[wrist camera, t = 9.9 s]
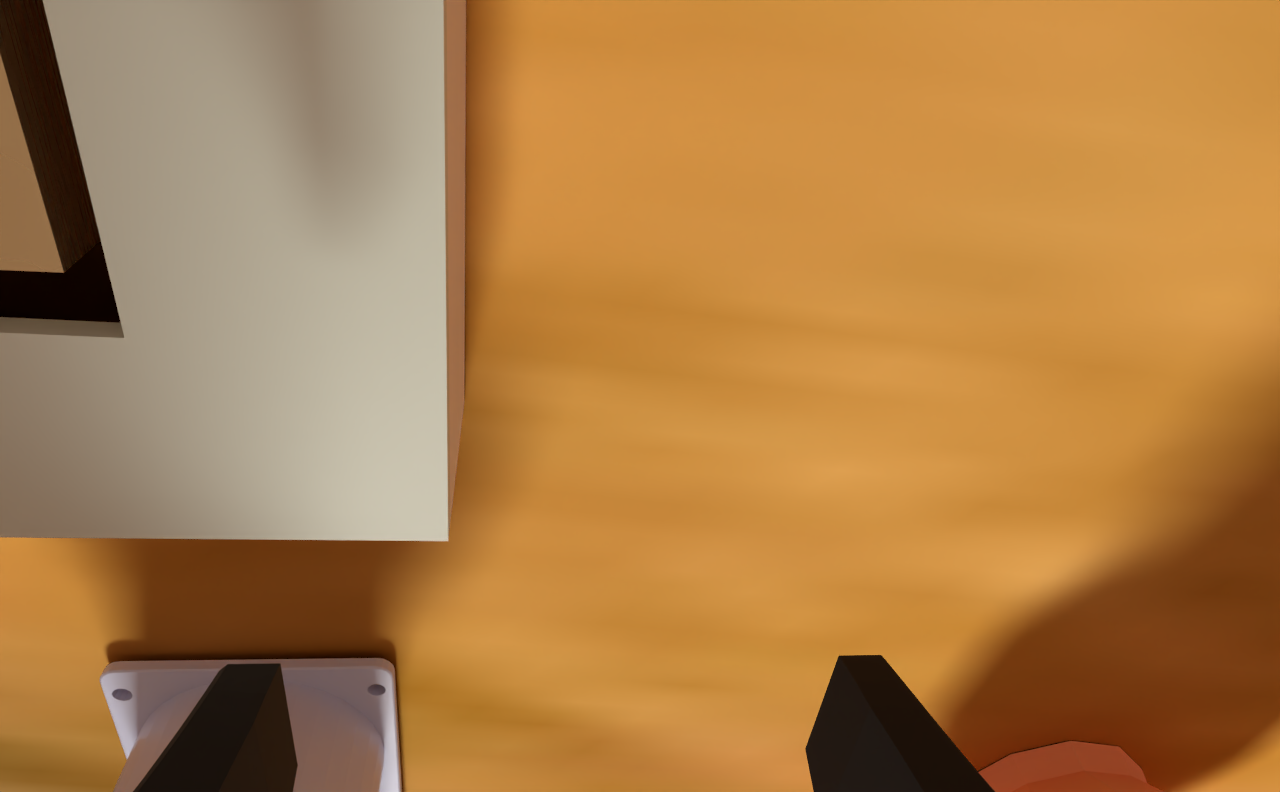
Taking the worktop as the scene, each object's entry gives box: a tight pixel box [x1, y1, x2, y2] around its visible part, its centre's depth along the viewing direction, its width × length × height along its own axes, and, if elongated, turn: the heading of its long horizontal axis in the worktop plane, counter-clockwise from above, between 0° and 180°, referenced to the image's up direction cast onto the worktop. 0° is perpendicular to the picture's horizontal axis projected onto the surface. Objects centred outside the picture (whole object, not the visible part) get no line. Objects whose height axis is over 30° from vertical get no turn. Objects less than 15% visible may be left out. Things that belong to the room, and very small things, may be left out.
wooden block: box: [0, 0, 101, 273], centre depth 13 cm, size 5×2×5 cm, turn 174°
